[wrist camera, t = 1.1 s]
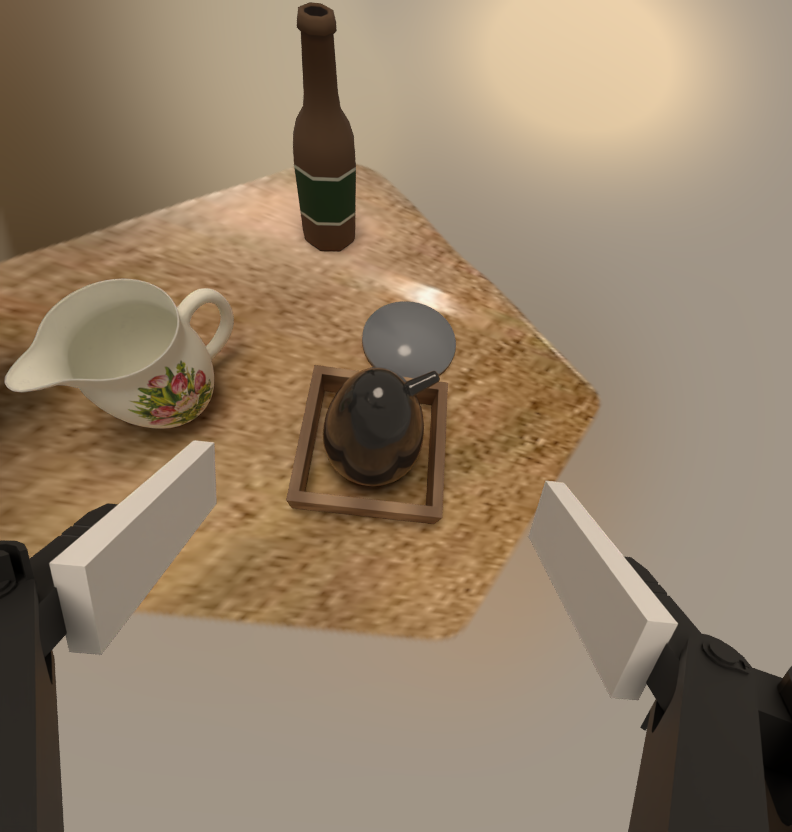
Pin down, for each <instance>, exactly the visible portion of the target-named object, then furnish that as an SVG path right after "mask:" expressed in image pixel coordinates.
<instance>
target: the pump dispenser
mask: <svg viewBox="0 0 792 832" xmlns="http://www.w3.org/2000/svg"><path fill="white" fill-rule="evenodd" d="M439 380H440V378H439V375H438V373H437V372H436V371H431V372H429V373H426V374H424V375H421V376H418V377H416V378H413V379H411V380H408V381H406V380H405V379H404V378H403V377H402V376H401V375H400V374H398V373H397V372H395V371H393V370H390V369H387V368H382V367H373V368H368V369H364V370H362V371H359V372H358V373H356V374H354V375H353V376H352V377H350V378H349V379H348V380H347V381H346V382H345V383H344V384H343V385H342V386H341V388H340V389H339V390H338V392H337V393H336V395H335V396H334V398H333V400H332V401H331V403H330V406H329V408H328V411H327V414H326V417H325V422H324V427H323V444H324V449H325V452H326V455H327V457H328V460H329V461H330V463H331V465H332V466H333V467H334V468H335V470H336V471H337V472H338V473H339V474H341V475H342V476H343V477H345V478H346V479H348V480H350V481H352V482H354V483H357V484H361V485H366V486H381V485H386V484H389V483H392V482H394V481H396V480H398V479H400V478H401V477H403V476H404V475H405V474H406V473H407V472H408V471H409V470H410V469H411V468H412V467H413V465H414V464H415V462H416V460H417V458H418V456H419V454H420V451H421V447H422V443H423V434H424V420H423V414H422V409H421V406H420V403H419V400H418V398H417V396H416V395H417V394H419V393H421V392H422V391H424V390H426V389H428V388H429V387H431V386H433V385H435V384H436V383H438V382H439Z"/></svg>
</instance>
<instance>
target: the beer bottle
mask: <svg viewBox="0 0 792 832" xmlns="http://www.w3.org/2000/svg"><path fill="white" fill-rule="evenodd" d="M297 28H298V29H299V30H300V31H301V44H302V67H303V88H304V100H303V107H302V109H301V111H300V112H299V114H298V116H297V118H296V122H295V127H294V132H293V154H294V167H295V174H296V182H297V189H298V196H299V204H300V211H301V218H302V226H303V231H304V236H305V239H306V240H307V241H308V242H309V243H311V244H312V245H314V246H315V247H316V248H318V249H319V250H320V251H341V250H342V249H343V248H345V247H346V246H347V245H349V244H350V243H351V242H353V241H354V238H355V195H356V163H355V149H354V135H353V132H352V129H351V126H350V123H349V121H348V119H347V117H346V116H345V114H344V113H343V111H342V109H341V107H340V101H339V96H338V89H337V75H336V62H335V49H334V36H333V34H334V33H335V32H336V20H335V16H334V12H333V10H332V9H330V8H328V7H327V6H325V5H323V4H320V3H307V4H305V5H302V6H300V7H298V15H297Z"/></svg>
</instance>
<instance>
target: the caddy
mask: <svg viewBox="0 0 792 832" xmlns="http://www.w3.org/2000/svg"><path fill="white" fill-rule="evenodd" d="M358 372H359V371H356V370H348V369H341V368H333V367H326V366H318V365H314V370H313V375H312V379H311V384H310V389H309V394H308V398H307V403H306V408H305V413H304V417H303V422H302V427H301V432H300V437H299V441H298V446H297V451H296V456H295V460H294V465H293V470H292V475H291V480H290V484H289V489H288V494H287V499H286V501H287V502H288V503H289V505H290V506H291V507H292V508H296V509H305V510H314V511H323V512H332V513H341V514H350V515H359V516H368V517H377V518H386V519H395V520H404V521H412V522H421V523H430V524H435V523H436V522H437V521H439V520H440V519H441V518H442V510H443V486H444V462H445V438H446V414H447V390H448V383H446V382H438V383H436V384H435V385H433V386H431V387H429V388H428V389H426V390H424V391H422V392H421V393H419V394H417V395H416V396H417V398H418V400H419V403H422V404H430V405H432V411H431V428H430V445H429V462H428V479H427V495H426V506H425V505H416V504H408V503H399V502H390V501H381V500H373V499H364V498H355V497H346V496H338V495H329V494H320V493H312V492H305V490H306V484H307V479H308V474H309V469H310V463H311V458H312V453H313V448H314V443H315V437H316V432H317V427H318V422H319V416H320V411H321V406H322V401H323V395H324V391H330V392H338V390H339V389H340V388H341V386H342V385H343V384H344V383H345V382H346V381H347V380H348V379H349V378H350V377H352V376H353V375H354V374H356V373H358ZM403 378H404V379H405V380H406V381H408V380H411V379H413V378H408V377H403Z"/></svg>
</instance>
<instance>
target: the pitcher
mask: <svg viewBox="0 0 792 832" xmlns="http://www.w3.org/2000/svg"><path fill="white" fill-rule="evenodd" d="M205 303H214V304H216V306H217V307H218V309H219V311H220V315H221V321H220V325H219V328H218V330H217V332H216V334H215V336H214V337H213V339H212V340H211V341H210V343H209V344H208V345H207V346H206V347H205V345H204V343H203V341H202V340H201V338H200V337H199V335H198V334H197V333H196V332H195V330H194V329H193V328H192V327H191V326H190V320H191V317H192V315H193V313H194V312H195V311H196V310H197V309H198V308H199V307H200V306H202V305H203V304H205ZM233 324H234V317H233V312H232V309H231V306H230V304H229V303H228V301H227V300H226V298H225V297H223V296H222V295H221V294H220V293H219V292H217V291H215V290H213V289H208V288H205V289H199V290H196V291H194V292H192V293H191V294H189V295H188V296H187V297H186V298H185V299H184V300H183V301H182V302H181V304H180V305H179V306H178V307H176V305H175V303H174V302H173V300H172V299H171V297H170V296H169V295H168V294H167V293H166V292H164V291H163V290H162V289H160V288H158V287H157V286H155V285H153V284H150V283H147V282H144V281H140V280H134V279H112V280H105V281H101V282H97V283H94V284H90V285H88V286H85V287H83V288H81V289H79V290H77V291H75V292H73V293H71V294H70V295H68V296H66V297H65V298H63V299H62V300H61V301H59V302H58V303H57V304H56V305H55V306H54V307H53V308H52V309H51V310H50V311H49V312H48V313H47V314H46V316H45V317H44V318H43V320H42V322H41V324H40V326H39V328H38V331H37V334H36V336H35V339H34V341H33V343H32V345H31V346H30V348H29V349H28V350H27V351H26V352H24V353H23V354H22V355H21V356H20V357H19V358H18V360H17V361H16V362H15V363H14V364H13V365H12V367H11V368H10V370H9V371H8V373H7V374H6V376H5V385H6V386H7V388H9V389H10V390H12V391H15V392H29V391H36V390H41V389H45V388H49V387H52V386H56V385H66V386H71V387H75V388H79V389H80V390H81V392H82V393H83V394H84V395H85V396H86V397H87V398H88V399H89V400H91V401H92V402H93V403H94V404H95V405H97V406H98V407H99V408H101V409H102V410H104V411H105V412H107V413H109V414H111V415H112V416H114V417H116V418H118V419H121V420H123V421H125V422H128V423H131V424H134V425H138V426H142V427H149V428H172V427H177V426H180V425H183V424H186V423H188V422H190V421H192V420H193V419H195V418H196V417H197V416H199V415H200V414H201V413H202V412H203V411H204V409H205V408H206V407H207V405H208V403H209V401H210V399H211V397H212V394H213V389H214V371H213V365H212V361H211V360H212V359H213V358H214V357H215V356H216V355H217V354H218V353H219V352H220V351H221V349H222V348H223V347H224V346H225V344H226V343H227V341H228V339H229V337H230V335H231V332H232V329H233Z"/></svg>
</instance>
